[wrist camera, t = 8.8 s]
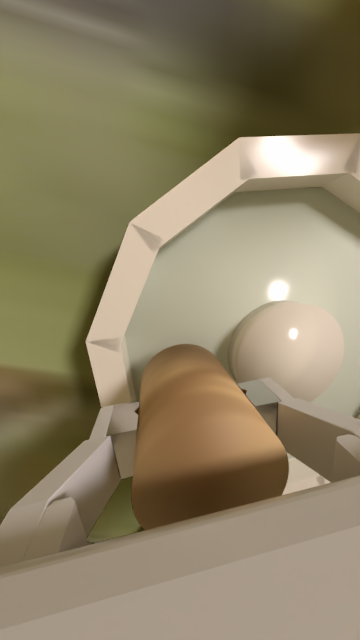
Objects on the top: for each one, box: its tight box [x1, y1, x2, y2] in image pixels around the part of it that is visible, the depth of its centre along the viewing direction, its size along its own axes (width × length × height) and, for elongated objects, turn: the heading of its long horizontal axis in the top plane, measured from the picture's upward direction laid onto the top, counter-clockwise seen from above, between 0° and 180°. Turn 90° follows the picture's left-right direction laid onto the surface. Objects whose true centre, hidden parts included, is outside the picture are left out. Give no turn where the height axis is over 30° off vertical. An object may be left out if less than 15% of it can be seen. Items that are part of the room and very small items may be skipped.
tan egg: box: [131, 344, 289, 530], centre depth 8 cm, size 4×4×5 cm
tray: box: [86, 133, 360, 495], centre depth 12 cm, size 21×21×2 cm
